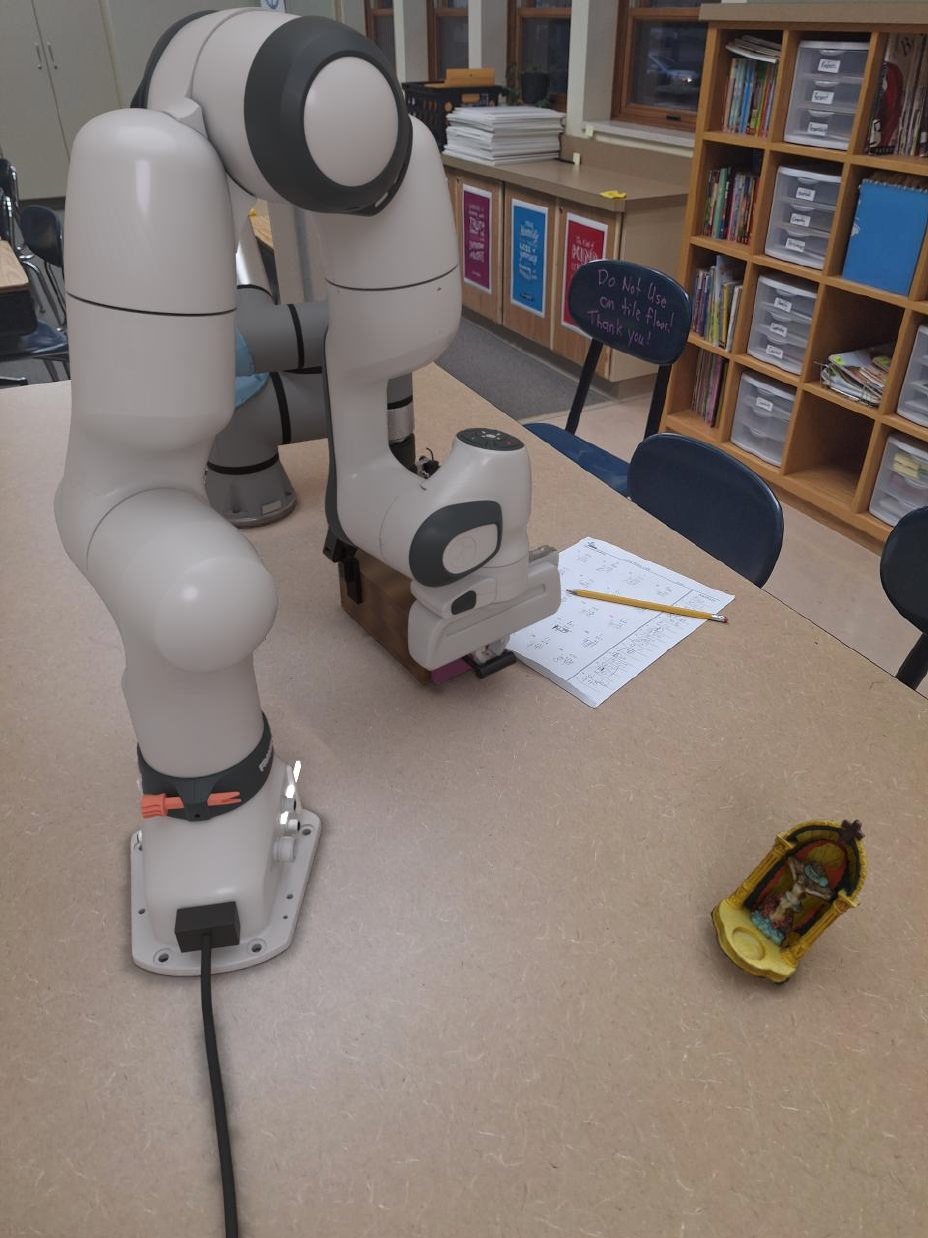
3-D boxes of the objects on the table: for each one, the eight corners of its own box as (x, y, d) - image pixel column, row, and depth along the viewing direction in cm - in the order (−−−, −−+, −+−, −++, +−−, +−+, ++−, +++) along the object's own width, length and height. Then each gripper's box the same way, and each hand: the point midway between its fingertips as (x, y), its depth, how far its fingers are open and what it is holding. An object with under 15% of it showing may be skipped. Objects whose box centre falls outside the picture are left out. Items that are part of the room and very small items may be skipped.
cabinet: (496, 651, 112) (498, 594, 107) (424, 685, 107) (423, 626, 101) (409, 580, 125) (407, 525, 120) (341, 606, 120) (336, 550, 114)
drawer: (530, 678, 106) (534, 633, 102) (464, 711, 101) (465, 665, 97) (417, 585, 122) (417, 543, 118) (356, 609, 117) (353, 566, 113)
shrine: (791, 892, 81) (830, 781, 73) (851, 966, 75) (901, 853, 66) (686, 929, 78) (714, 817, 69) (739, 1009, 72) (776, 896, 63)
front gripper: (540, 529, 103) (535, 623, 111) (397, 586, 93) (403, 684, 101) (576, 551, 99) (568, 647, 107) (430, 613, 89) (434, 713, 97)
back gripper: (445, 402, 113) (448, 546, 125) (281, 447, 101) (302, 601, 114) (480, 419, 108) (479, 568, 120) (311, 469, 96) (330, 627, 109)
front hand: (487, 666), depth 104 cm, fingers closed, pressing on drawer
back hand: (393, 584), depth 117 cm, fingers closed on cabinet, 11 cm apart
